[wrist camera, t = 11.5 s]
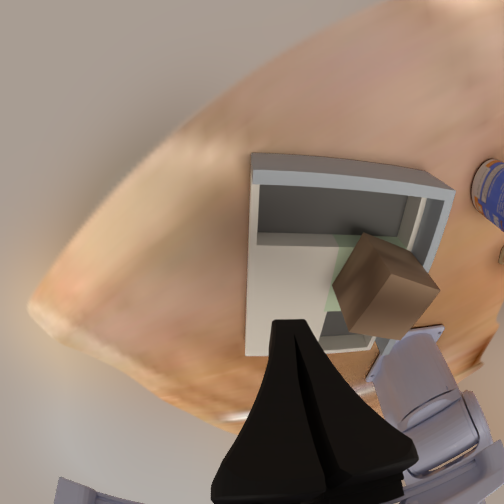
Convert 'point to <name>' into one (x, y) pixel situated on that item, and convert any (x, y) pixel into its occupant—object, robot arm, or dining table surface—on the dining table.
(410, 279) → the walnut block
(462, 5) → the dining table surface
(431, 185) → the board
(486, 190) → the pill bottle
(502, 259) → the grandmother figurine
